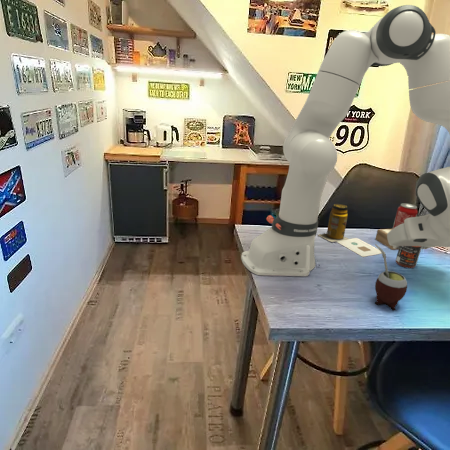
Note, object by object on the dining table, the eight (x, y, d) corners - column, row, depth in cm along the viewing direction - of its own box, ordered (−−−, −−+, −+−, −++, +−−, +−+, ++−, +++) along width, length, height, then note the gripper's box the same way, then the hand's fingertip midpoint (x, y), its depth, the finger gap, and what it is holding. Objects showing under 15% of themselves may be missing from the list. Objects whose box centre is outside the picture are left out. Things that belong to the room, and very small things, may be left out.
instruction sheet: (362, 257, 114) (363, 256, 114) (335, 241, 125) (335, 240, 125) (385, 253, 118) (385, 252, 118) (356, 238, 129) (356, 237, 129)
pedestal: (392, 249, 121) (394, 238, 119) (375, 239, 129) (377, 228, 128) (413, 248, 123) (416, 237, 122) (395, 238, 131) (398, 227, 130)
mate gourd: (407, 310, 86) (423, 255, 81) (379, 313, 85) (394, 257, 79) (388, 294, 93) (402, 242, 88) (361, 296, 91) (374, 243, 86)
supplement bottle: (395, 266, 109) (404, 232, 105) (394, 258, 114) (402, 226, 110) (417, 270, 107) (427, 236, 103) (414, 262, 112) (423, 229, 108)
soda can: (408, 240, 130) (417, 209, 126) (389, 235, 134) (397, 205, 130) (412, 235, 136) (420, 205, 131) (393, 230, 139) (401, 201, 135)
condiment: (348, 239, 127) (354, 207, 123) (331, 242, 123) (337, 209, 119) (334, 232, 133) (339, 202, 129) (317, 235, 129) (321, 204, 125)
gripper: (469, 219, 99) (437, 238, 111) (401, 217, 97) (376, 236, 109) (476, 240, 96) (442, 256, 109) (406, 239, 94) (380, 255, 107)
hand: (409, 246), depth 109 cm, fingers open, 8 cm apart
